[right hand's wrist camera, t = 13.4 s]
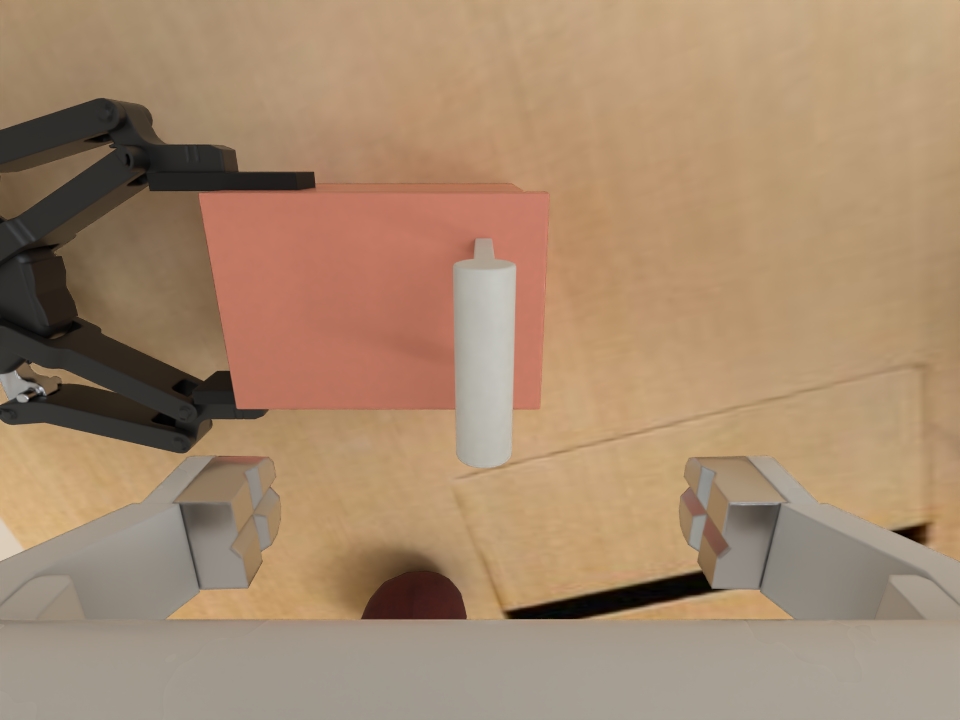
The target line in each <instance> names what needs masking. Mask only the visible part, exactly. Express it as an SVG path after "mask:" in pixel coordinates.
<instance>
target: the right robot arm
mask: <svg viewBox="0 0 960 720" xmlns="http://www.w3.org/2000/svg"><path fill="white" fill-rule="evenodd" d="M275 478H276V473H275V468H274V463H273V461H272V460H271V459H270V458H269V457H249V456H191V457H187V458H186V459H185V460H184V461H183V462H182V463H181V464H180V465H179V466H178V467H177V468H176V469H175V470H174V471H173V472H172V473H171V474H170V475H169V476H168V477H167V478H166V479H165V480H164V481H163V482H162V483H161V484H160V485H159V486H158V487H157V488H156V489H155V490H154V491H153V492H152V493H151V494H150V495H149V496H148V497H147V498H146V499H145V500H144V501H143V502H142V503H132V504H130V505H127V506H125V507H123V508H121V509H118V510H116V511H114V512H112V513H109V514H107V515H105V516H102V517H100V518H98V519H96V520H93V521H91V522H89V523H87V524H84V525H82V526H80V527H77V528H75V529H73V530H71V531H68V532H66V533H64V534H62V535H59V536H57V537H55V538H52V539H50V540H48V541H46V542H43V543H41V544H39V545H36V546H34V547H32V548H30V549H27V550H25V551H23V552H21V553H18V554H16V555H14V556H12V557H9V558H7V559H5V560H2V561H0V720H960V561H957V560H955V559H953V558H950V557H948V556H946V555H944V554H941V553H939V552H937V551H935V550H932V549H930V548H928V547H926V546H923V545H921V544H919V543H916V542H914V541H912V540H910V539H907V538H905V537H903V536H901V535H898V534H896V533H894V532H891V531H889V530H887V529H885V528H882V527H880V526H878V525H876V524H873V523H871V522H869V521H867V520H864V519H862V518H860V517H857V516H855V515H853V514H851V513H848V512H846V511H844V510H842V509H839V508H837V507H835V506H832V505H830V504H828V503H818V502H817V501H816V500H815V499H814V498H813V497H812V496H811V495H810V494H809V493H808V492H807V491H806V490H805V489H804V488H803V487H802V486H801V485H800V484H799V483H798V482H797V481H796V480H795V479H794V478H793V477H792V476H791V475H790V474H789V473H788V472H787V471H786V470H785V469H784V468H783V467H782V466H781V465H780V464H779V463H778V462H777V461H776V460H775V459H774V458H773V457H770V456H767V455H762V456H731V457H694V458H689V459H688V462H687V464H686V467H685V473H684V478H685V479H686V481H687V482H688V484H689V486H690V487H689V488H688V489H687V490H686V491H685V492H684V493H683V494H682V495H681V498H680V506H679V518H680V526H681V529H682V533H683V536H684V538H685V540H686V541H687V543H688V545H689V546H691V547H692V548H694V549H695V550H697V551H698V552H699V555H698V561H697V562H698V564H699V565H700V567H701V569H702V571H703V573H704V574H705V576H706V578H707V580H708V582H709V583H710V585H711V587H712V588H717V589H754V590H760V592H761V593H762V594H763V595H765V596H766V597H767V598H769V599H770V600H771V601H772V602H774V603H775V604H776V605H778V606H779V607H780V608H781V609H783V610H784V611H785V612H786V613H788V614H789V615H790V616H792V617H793V618H794V619H624V620H340V619H338V620H337V619H166V618H167V617H169V616H170V615H171V614H172V613H174V612H175V611H176V610H178V609H179V608H180V607H181V606H183V605H184V604H185V603H187V602H188V601H189V600H190V599H192V598H193V597H194V596H195V595H197V594H198V593H199V592H200V590H206V589H241V588H248V587H249V585H250V584H251V582H252V580H253V578H254V576H255V575H256V573H257V571H258V569H259V567H260V565H261V564H262V562H263V561H262V555H261V552H262V551H263V550H265V549H266V548H268V547H269V546H271V545H272V543H273V541H274V539H275V537H276V536H277V533H278V529H279V525H280V520H281V504H280V498H279V495H278V494H277V493H276V492H275V491H274V490H273V489H272V488H271V487H270V486H271V484H272V482H273V481H274V479H275Z"/></svg>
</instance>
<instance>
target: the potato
mask: <svg viewBox="0 0 960 720" xmlns="http://www.w3.org/2000/svg"><path fill="white" fill-rule="evenodd" d="M466 619H467V615H466V611H465V607H464V603H463V599H462V596H461V593H460V591H459V590H458V588H457V587H456V586H455V585H454V584H453V583H452V582H451V581H450V579H448V578H446V577H444V576H442V575H440V574H438V573H434V572H428V571H419V572H407V573H405V574H402V575H400V576H398V577H395V578H393V579H391V580H388V581H386V582H384V583H383V585H382V586H381V587H380V588H379V589H378V590H377V591H376V592H375V593H374V595H373V596H372V597H371V598H370V600H369V602H368V604H367V606H366V608H365V610H364V613H363V615H362V618H361V620H466Z"/></svg>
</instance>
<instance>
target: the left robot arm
mask: <svg viewBox="0 0 960 720" xmlns="http://www.w3.org/2000/svg"><path fill="white" fill-rule="evenodd" d="M152 122H153V120H152V116H151V114H150V112H149V110H148V109H147V108H145V107H144V106H142V105H139V104H134V103H128V102H123V101H117V100H111V99H105V98H99V99H95V100H92V101H89V102H86V103H83V104H79V105H76V106H73V107H70V108H67V109H64V110H61V111H58V112H55V113H52V114H49V115H46V116H42V117H39V118H36V119H33V120H30V121H27V122H24V123H21V124H18V125H15V126H12V127H9V128H5V129H2V130H0V173H8V172H18V171H22V170H26V169H29V168H32V167H36V166H39V165H42V164H45V163H48V162H52V161H55V160H58V159H61V158H64V157H67V156H71V155H74V154H77V153H80V152H83V151H87V150H90V149H93V148H96V147H99V146H102V145H106V144H109V143H112V142H113V143H114V144H112V145H109V147H110V148H117V149H115V150H114V151H113V152H111V153H110V154H108V155H107V156H105V157H104V158H102V159H101V160H99V161H98V162H97V163H95V164H94V165H92V166H91V167H89V168H88V169H86V170H85V171H84V172H82V173H81V174H79V175H78V176H76V177H75V178H73V179H72V180H70V181H69V182H68V183H66V184H65V185H63V186H62V187H60V188H59V189H57V190H56V191H54V192H53V193H52V194H50V195H49V196H47V197H46V198H44V199H43V200H41V201H40V202H38V203H37V204H36V205H34V206H33V207H31V208H30V209H28V210H27V211H25V212H24V213H23V214H21V215H20V216H18V217H16V218H13V219H10V220H7V219H5V218H3V217H2V216H0V381H1V383H2V386H3V388H4V390H5V392H6V395H7V397H8V399H9V401H8V402H6V403H4V404H2V405H0V419H1V420H2V421H3V422H4V423H7V424H10V425H18V424H31V423H49V424H53V425H58V426H62V427H66V428H71V429H75V430H79V431H84V432H88V433H93V434H97V435H101V436H106V437H110V438H115V439H119V440H123V441H128V442H132V443H136V444H141V445H145V446H150V447H154V448H158V449H163V450H167V451H172V452H176V453H186V452H188V451H189V450H190V449H191V448H192V447H193V446H194V445H195V444H196V443H197V442H198V441H199V440H200V439H201V438H202V437H203V436H204V435H205V434H206V433H207V432H208V431H209V430H210V429H211V428H212V425H213V424H212V420H211V419H256V418H259V417H262V416H264V415H265V413H266V412H267V411H268V410H269V409H237V407H236V402H235V396H234V391H233V385H232V379H231V374H230V371H216V372H215V373H214V374H213V375H211V376H210V377H209V378H207V379H206V380H205V381H202V380H200V379H198V378H196V377H193V376H191V375H189V374H187V373H185V372H183V371H180V370H178V369H176V368H174V367H172V366H170V365H168V364H165V363H163V362H161V361H159V360H157V359H155V358H152V357H150V356H148V355H146V354H144V353H142V352H140V351H137V350H135V349H133V348H131V347H129V346H127V345H124V344H122V343H120V342H118V341H116V340H114V339H112V338H109V337H107V336H105V335H103V334H102V333H101V329H100V328H99V327H98V326H96V325H94V324H92V323H89V322H87V321H85V320H83V319H81V318H79V317H77V316H78V313H77V310H76V306H75V302H74V300H73V298H72V296H71V295H70V293H69V291H68V289H67V287H66V270H65V266H64V263H63V259H62V256H55V254H54V251H56V250H57V249H59V248H60V247H62V246H63V245H65V244H66V243H68V242H69V241H71V240H72V239H74V238H75V237H76V233H77V232H79V231H81V230H82V229H84V228H85V227H87V226H88V225H90V224H91V223H93V222H94V221H96V220H97V219H99V218H100V217H102V216H103V215H105V214H106V213H108V212H109V211H111V210H112V209H114V208H115V207H117V206H118V205H120V204H121V203H123V202H124V201H126V200H127V199H129V198H130V197H132V196H133V195H135V194H136V193H138V192H139V191H141V190H142V189H144V188H145V187H147V186H148V185H149V189H150V191H221V190H303V189H310V188H316V186H315V177H314V172H238V165H237V159H236V152H235V150H233V149H231V148H228V147H226V146H223V145H168V144H166V143H164V142H162V141H161V140H160V139H159V138H158V137H157V135H156V134H155V132H154V130H153V128H152ZM0 180H1V176H0ZM32 362H33V363H35V364H38V365H40V366H42V367H45V368H50V369H58V368H60V369H65V370H67V371H69V372H72V373H74V374H76V375H78V376H81V377H83V378H85V379H87V380H89V381H92V382H94V383H96V384H98V385H101V386H103V387H105V388H107V389H110V390H112V391H114V392H110V391H106V390H102V389H98V388H93V387H89V386H84V385H79V384H62V380H61V379H60V378H59V377H57V376H53V377H51V378H50V377H47V376H42V375H39V374H36V373H35V372H34V371H33V370H32V369H31V368H30V366H29V364H31V363H32ZM115 392H116V393H115Z"/></svg>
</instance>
